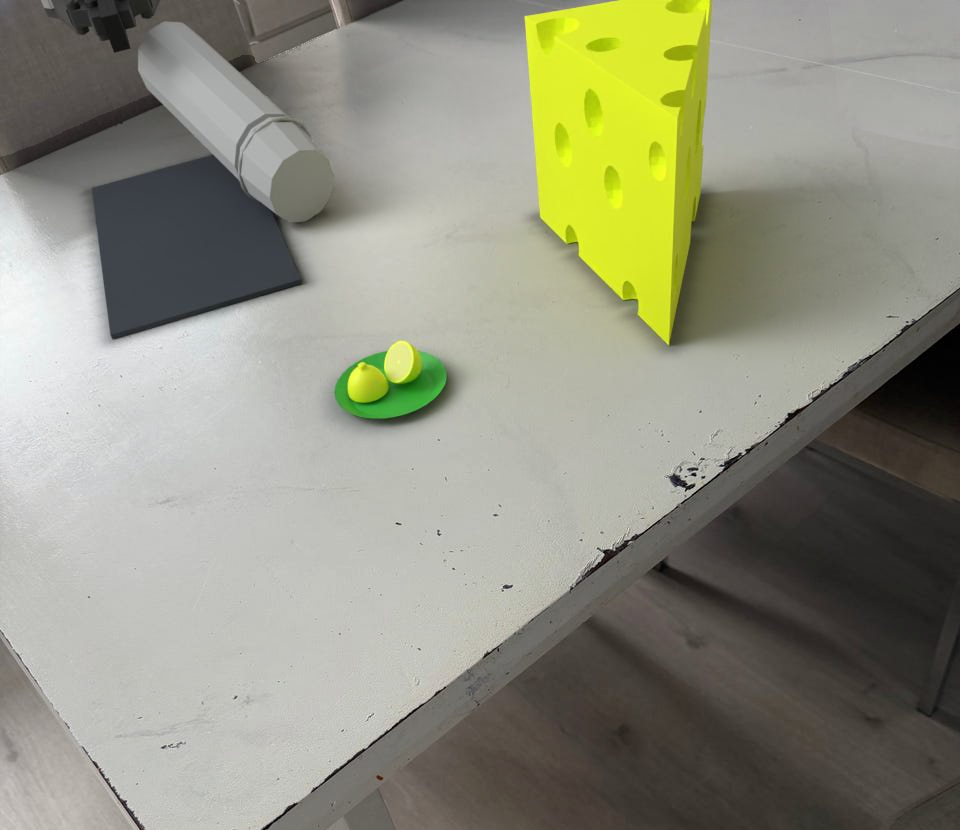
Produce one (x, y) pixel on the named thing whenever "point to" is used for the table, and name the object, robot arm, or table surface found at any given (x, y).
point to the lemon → (390, 382)
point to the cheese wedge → (623, 139)
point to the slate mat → (184, 245)
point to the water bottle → (236, 122)
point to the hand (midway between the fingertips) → (115, 33)
